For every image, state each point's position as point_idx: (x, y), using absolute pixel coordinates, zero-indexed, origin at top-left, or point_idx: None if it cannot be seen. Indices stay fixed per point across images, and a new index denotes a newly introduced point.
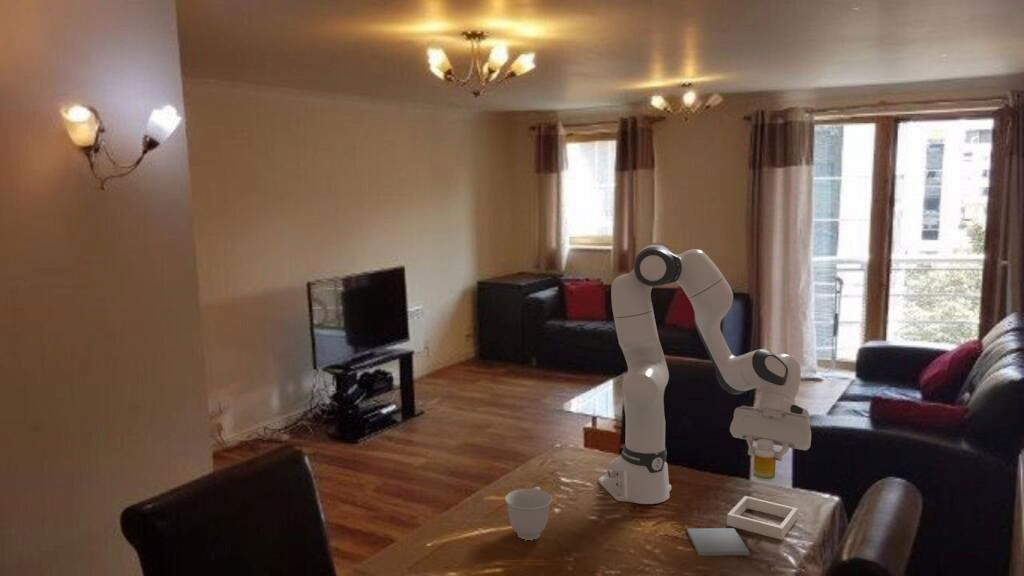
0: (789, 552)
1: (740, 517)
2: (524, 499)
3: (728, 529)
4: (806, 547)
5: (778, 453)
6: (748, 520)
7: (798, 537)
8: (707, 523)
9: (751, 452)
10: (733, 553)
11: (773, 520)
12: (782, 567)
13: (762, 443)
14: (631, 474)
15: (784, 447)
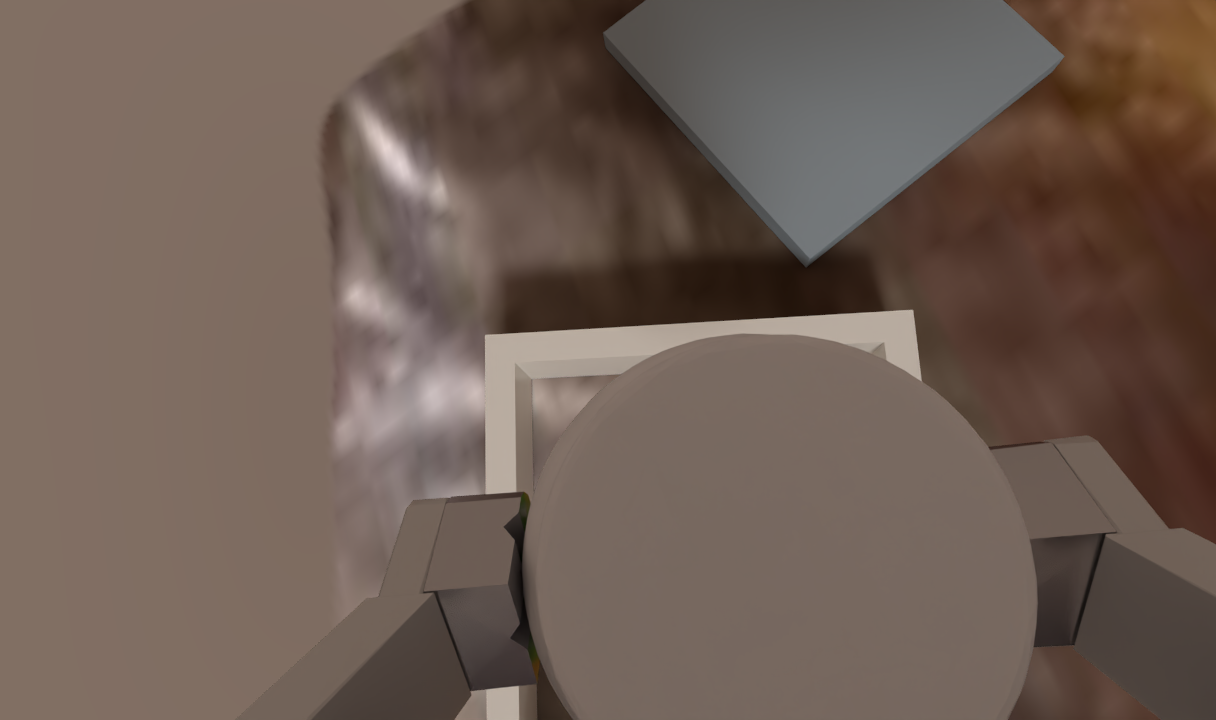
0: (420, 224)
1: (805, 320)
2: None
3: (831, 214)
4: (350, 351)
5: (449, 563)
6: (739, 321)
7: (425, 458)
8: (1014, 275)
9: (1008, 447)
10: None
11: None
12: (408, 40)
13: (787, 343)
14: None
15: (290, 715)
